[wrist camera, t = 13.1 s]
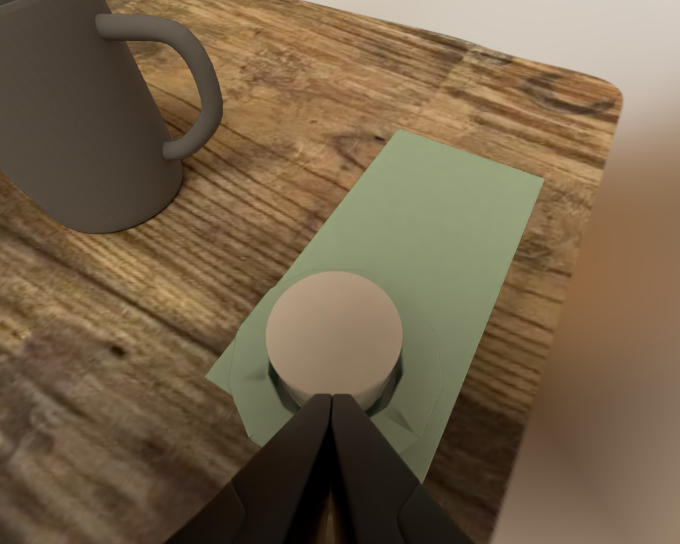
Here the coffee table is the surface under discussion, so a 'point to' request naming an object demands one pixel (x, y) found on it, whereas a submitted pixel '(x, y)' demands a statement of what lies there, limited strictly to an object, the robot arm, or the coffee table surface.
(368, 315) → the beige push button
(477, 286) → the green block with knob
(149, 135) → the mug
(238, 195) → the coffee table surface
